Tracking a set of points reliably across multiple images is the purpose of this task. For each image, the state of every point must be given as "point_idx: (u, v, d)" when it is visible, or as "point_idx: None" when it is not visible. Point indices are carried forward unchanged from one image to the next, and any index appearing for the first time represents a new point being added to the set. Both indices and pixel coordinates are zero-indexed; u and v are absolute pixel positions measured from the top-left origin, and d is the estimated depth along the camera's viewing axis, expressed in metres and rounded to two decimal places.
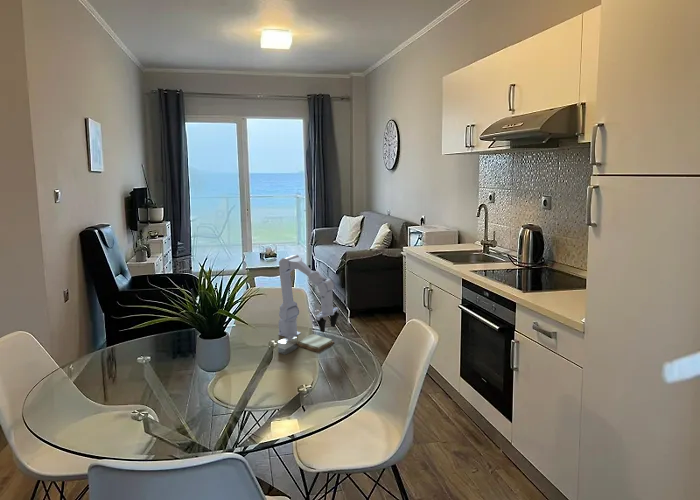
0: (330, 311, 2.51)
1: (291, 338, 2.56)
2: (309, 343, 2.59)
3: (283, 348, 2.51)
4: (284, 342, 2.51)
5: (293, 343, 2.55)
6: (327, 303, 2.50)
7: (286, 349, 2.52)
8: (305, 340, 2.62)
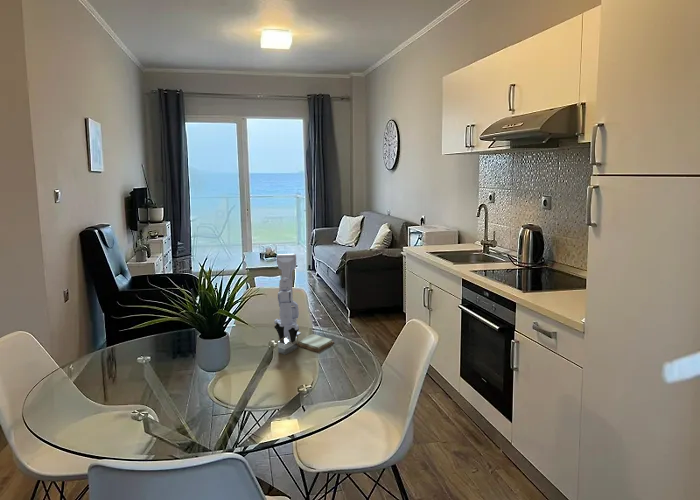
0: (281, 322, 2.50)
1: None
2: (309, 343, 2.59)
3: (283, 348, 2.51)
4: (284, 342, 2.51)
5: (293, 343, 2.55)
6: (281, 313, 2.49)
7: (286, 349, 2.52)
8: (305, 340, 2.62)
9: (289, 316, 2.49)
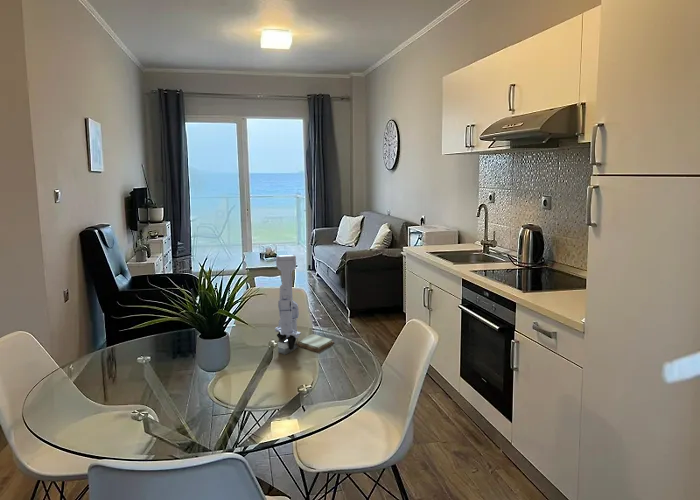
0: (282, 330, 2.51)
1: None
2: (309, 343, 2.59)
3: (283, 348, 2.51)
4: (284, 342, 2.51)
5: None
6: (281, 322, 2.50)
7: (286, 349, 2.52)
8: (305, 340, 2.62)
9: (289, 324, 2.50)
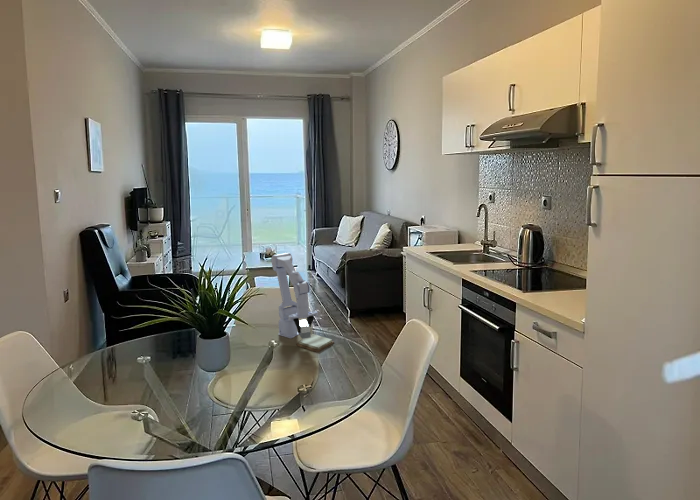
0: (303, 314, 2.52)
1: (304, 321, 2.58)
2: (309, 343, 2.59)
3: (308, 331, 2.53)
4: (307, 325, 2.54)
5: None
6: (300, 305, 2.51)
7: None
8: (305, 340, 2.62)
9: None
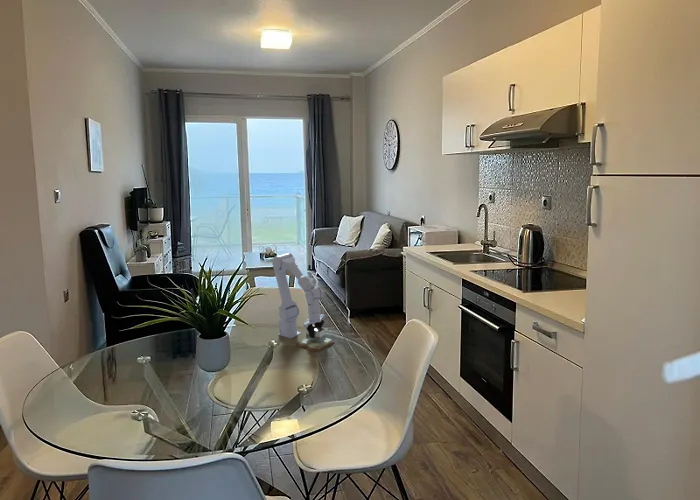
0: (317, 318, 2.56)
1: None
2: (309, 343, 2.59)
3: (324, 334, 2.59)
4: (321, 329, 2.59)
5: None
6: (314, 310, 2.55)
7: None
8: (305, 340, 2.62)
9: None
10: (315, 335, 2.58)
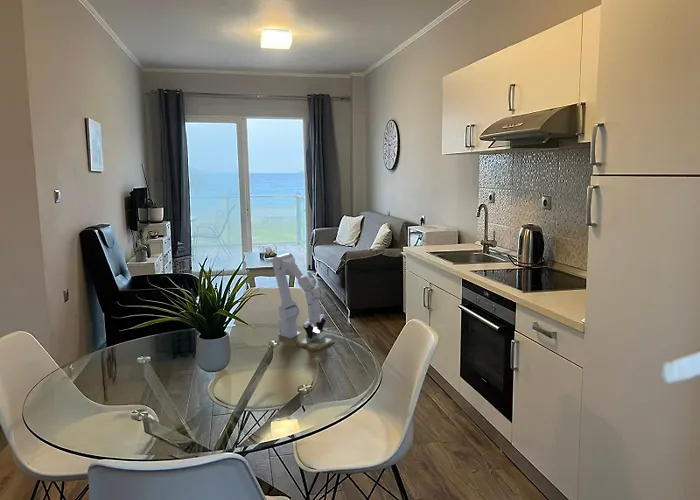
0: (317, 318, 2.56)
1: None
2: (309, 343, 2.59)
3: (324, 335, 2.59)
4: (321, 330, 2.59)
5: None
6: (314, 310, 2.55)
7: None
8: (305, 340, 2.62)
9: None
10: (315, 336, 2.58)
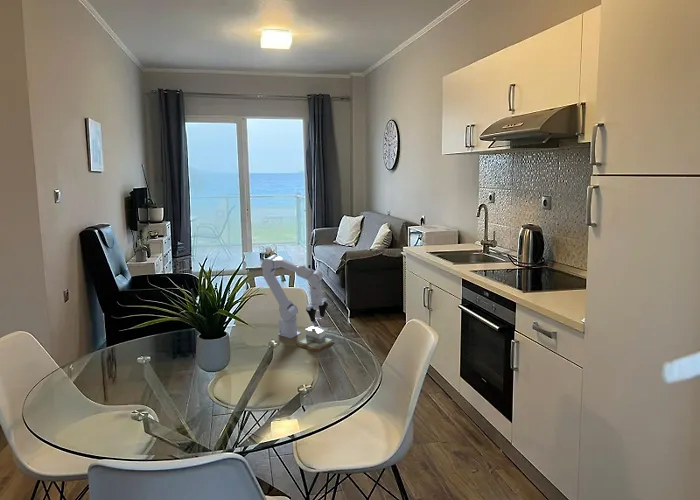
0: (320, 301, 2.63)
1: (313, 328, 2.62)
2: (309, 343, 2.59)
3: (324, 335, 2.59)
4: (321, 330, 2.59)
5: None
6: (318, 293, 2.61)
7: None
8: (305, 340, 2.62)
9: None
10: (315, 336, 2.58)
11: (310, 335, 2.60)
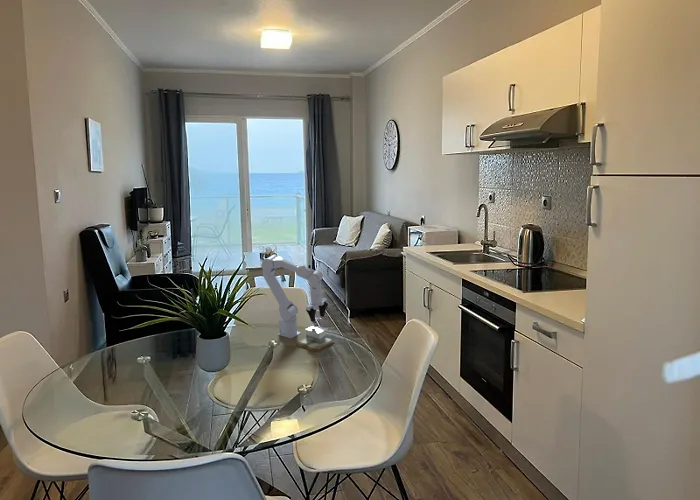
0: (320, 301, 2.63)
1: (313, 328, 2.62)
2: (309, 343, 2.59)
3: (324, 335, 2.59)
4: (321, 330, 2.59)
5: None
6: (318, 293, 2.61)
7: None
8: (305, 340, 2.62)
9: None
10: (315, 336, 2.58)
11: (310, 335, 2.60)
